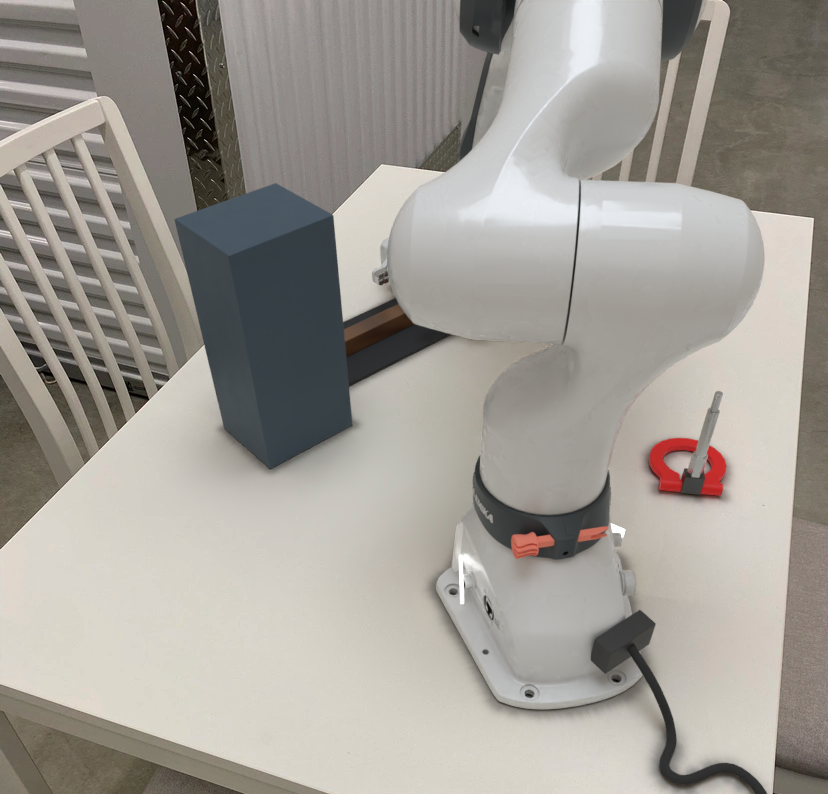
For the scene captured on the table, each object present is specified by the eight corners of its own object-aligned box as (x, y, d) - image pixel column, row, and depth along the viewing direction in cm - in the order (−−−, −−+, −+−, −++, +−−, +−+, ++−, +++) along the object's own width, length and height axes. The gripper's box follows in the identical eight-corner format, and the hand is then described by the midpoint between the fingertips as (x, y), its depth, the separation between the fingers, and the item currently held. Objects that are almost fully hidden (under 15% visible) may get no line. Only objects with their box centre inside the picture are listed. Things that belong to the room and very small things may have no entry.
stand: (304, 388, 104) (275, 182, 85) (352, 425, 99) (333, 214, 80) (223, 428, 99) (173, 218, 80) (270, 469, 94) (228, 255, 75)
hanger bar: (430, 304, 117) (430, 263, 112) (441, 311, 115) (441, 270, 111) (304, 364, 107) (298, 322, 102) (315, 372, 106) (310, 330, 101)
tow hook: (646, 442, 96) (650, 493, 90) (670, 345, 87) (676, 393, 81) (719, 448, 95) (728, 500, 89) (751, 351, 86) (764, 400, 80)
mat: (399, 298, 118) (399, 296, 118) (455, 332, 112) (455, 329, 112) (285, 351, 110) (285, 348, 110) (339, 391, 104) (339, 388, 103)
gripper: (423, 210, 118) (348, 241, 112) (526, 262, 108) (448, 299, 102) (424, 252, 123) (351, 284, 117) (522, 305, 112) (447, 343, 106)
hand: (397, 291), depth 109 cm, fingers open, 8 cm apart
